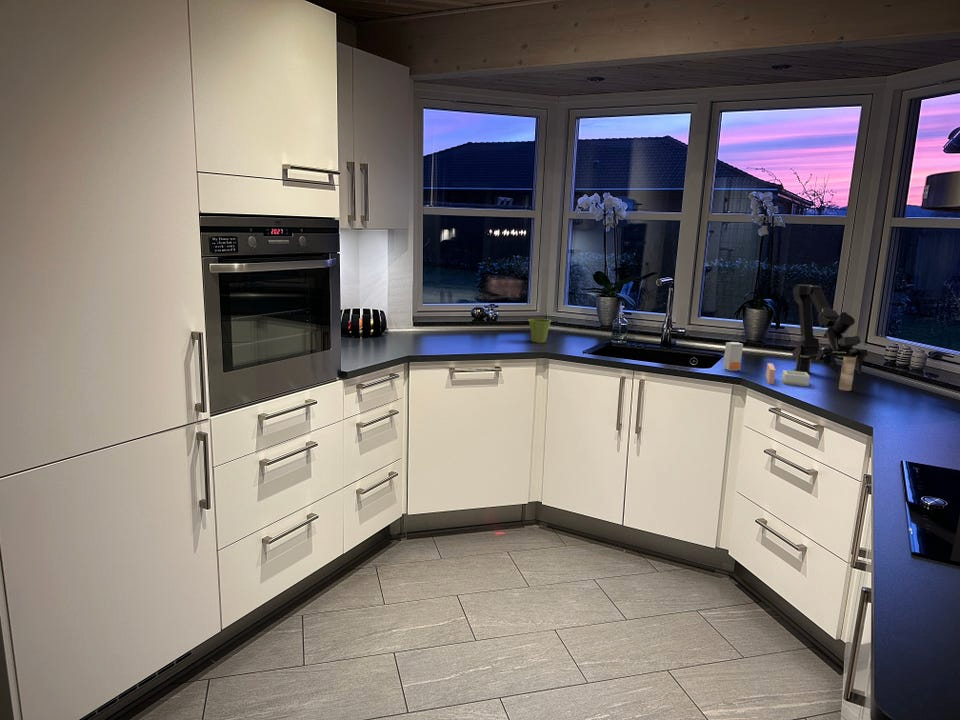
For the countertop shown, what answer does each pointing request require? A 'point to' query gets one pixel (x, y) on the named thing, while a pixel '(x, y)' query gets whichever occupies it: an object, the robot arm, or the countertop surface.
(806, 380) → the cradle
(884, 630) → the countertop surface
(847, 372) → the dowel
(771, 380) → the backstop wall
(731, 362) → the skincare box
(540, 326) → the plant pot
